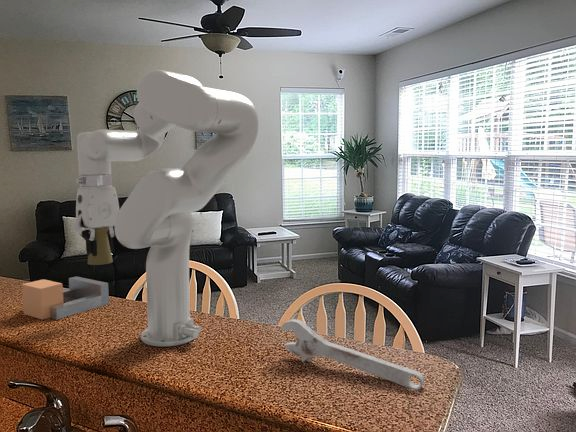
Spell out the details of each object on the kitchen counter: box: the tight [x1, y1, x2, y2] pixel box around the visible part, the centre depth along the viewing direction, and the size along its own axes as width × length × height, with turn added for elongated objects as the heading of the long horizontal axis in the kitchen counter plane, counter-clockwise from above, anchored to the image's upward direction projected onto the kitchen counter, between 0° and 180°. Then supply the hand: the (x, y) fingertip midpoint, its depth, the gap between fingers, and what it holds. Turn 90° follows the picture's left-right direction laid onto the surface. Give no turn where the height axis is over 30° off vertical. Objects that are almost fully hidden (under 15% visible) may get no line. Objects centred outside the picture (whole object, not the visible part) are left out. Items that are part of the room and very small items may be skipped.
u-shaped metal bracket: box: [50, 276, 110, 321], centre depth 131 cm, size 14×16×6 cm
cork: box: [87, 227, 114, 266], centre depth 121 cm, size 6×6×11 cm
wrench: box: [279, 318, 425, 391], centre depth 93 cm, size 8×2×30 cm
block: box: [21, 279, 64, 320], centre depth 125 cm, size 8×6×8 cm
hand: (100, 253), depth 121 cm, fingers closed on cork, 4 cm apart
